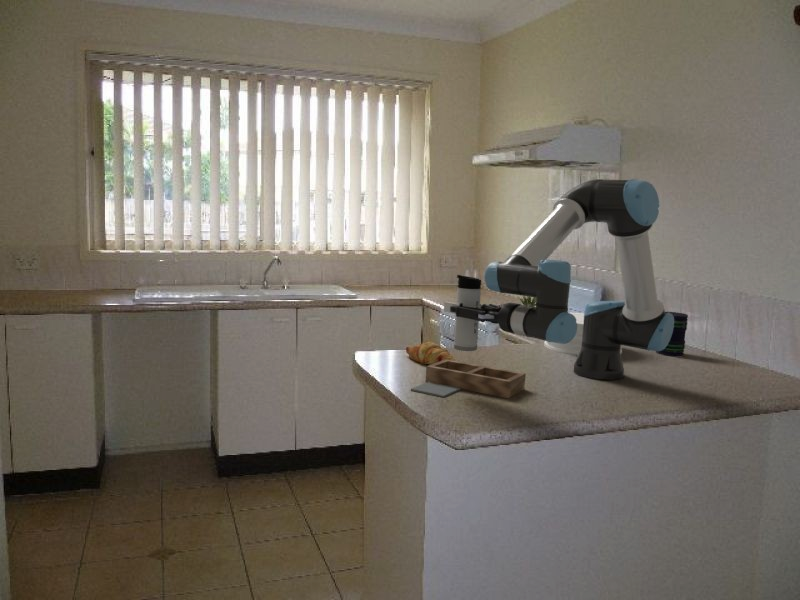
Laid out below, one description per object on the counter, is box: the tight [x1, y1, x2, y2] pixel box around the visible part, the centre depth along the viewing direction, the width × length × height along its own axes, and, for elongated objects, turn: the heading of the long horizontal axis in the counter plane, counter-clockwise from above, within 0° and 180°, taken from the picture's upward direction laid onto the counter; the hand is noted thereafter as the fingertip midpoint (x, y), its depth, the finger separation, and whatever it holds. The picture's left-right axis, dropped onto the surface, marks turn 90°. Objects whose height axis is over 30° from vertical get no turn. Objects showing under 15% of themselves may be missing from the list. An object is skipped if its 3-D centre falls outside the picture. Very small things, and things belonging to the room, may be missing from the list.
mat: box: [410, 382, 462, 398], centre depth 190 cm, size 10×10×1 cm
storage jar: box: [655, 311, 689, 357], centre depth 258 cm, size 10×10×15 cm
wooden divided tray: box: [425, 359, 526, 399], centre depth 197 cm, size 25×12×4 cm, turn 59°
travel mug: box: [453, 274, 482, 352], centre depth 189 cm, size 6×7×20 cm
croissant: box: [405, 340, 456, 366], centre depth 223 cm, size 21×10×8 cm, turn 46°
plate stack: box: [543, 311, 624, 356], centre depth 259 cm, size 28×28×12 cm
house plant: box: [517, 296, 536, 307], centre depth 289 cm, size 14×14×16 cm
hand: (454, 306), depth 192 cm, fingers closed on travel mug, 6 cm apart
